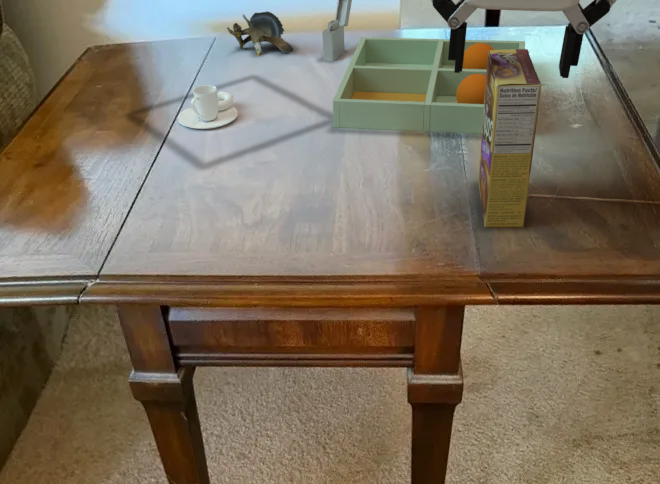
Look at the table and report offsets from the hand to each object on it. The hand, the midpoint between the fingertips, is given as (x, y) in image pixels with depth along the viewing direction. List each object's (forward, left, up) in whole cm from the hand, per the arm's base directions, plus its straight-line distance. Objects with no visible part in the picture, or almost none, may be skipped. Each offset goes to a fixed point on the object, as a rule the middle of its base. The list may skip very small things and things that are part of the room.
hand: (510, 70), depth 72 cm
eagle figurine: (+37, -44, -15) cm, 59 cm away
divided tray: (+9, -28, -15) cm, 33 cm away
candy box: (0, 0, -15) cm, 15 cm away
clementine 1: (+3, -34, -14) cm, 37 cm away
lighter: (+25, -44, -15) cm, 53 cm away
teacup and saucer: (+35, -19, -15) cm, 42 cm away
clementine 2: (+3, -22, -14) cm, 27 cm away
